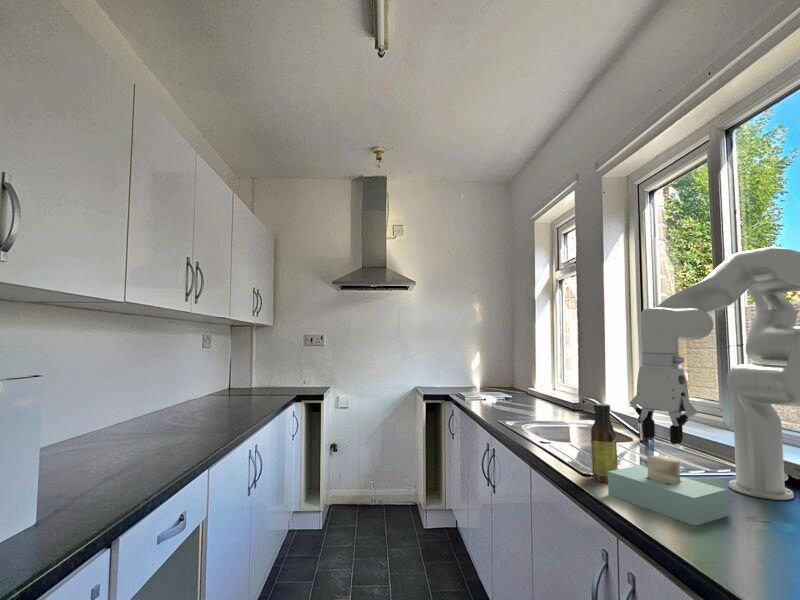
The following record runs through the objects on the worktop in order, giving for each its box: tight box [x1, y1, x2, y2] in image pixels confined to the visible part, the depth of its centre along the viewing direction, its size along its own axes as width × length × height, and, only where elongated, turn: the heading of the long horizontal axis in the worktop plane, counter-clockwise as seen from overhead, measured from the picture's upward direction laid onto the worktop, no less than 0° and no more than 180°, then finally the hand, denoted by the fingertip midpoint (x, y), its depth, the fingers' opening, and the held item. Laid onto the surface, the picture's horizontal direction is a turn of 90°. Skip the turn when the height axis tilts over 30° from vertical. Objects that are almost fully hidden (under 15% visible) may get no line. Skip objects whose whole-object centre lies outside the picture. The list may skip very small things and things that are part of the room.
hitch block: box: [607, 465, 729, 527], centre depth 103 cm, size 12×20×6 cm, turn 28°
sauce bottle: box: [590, 403, 619, 484], centre depth 121 cm, size 6×6×20 cm
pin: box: [646, 455, 681, 485], centre depth 103 cm, size 6×6×10 cm
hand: (662, 439), depth 104 cm, fingers open, 5 cm apart
